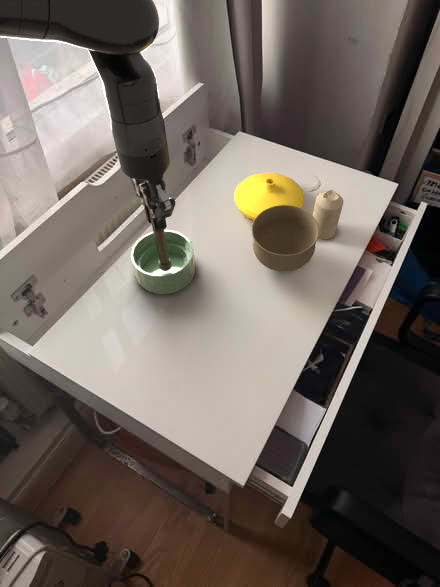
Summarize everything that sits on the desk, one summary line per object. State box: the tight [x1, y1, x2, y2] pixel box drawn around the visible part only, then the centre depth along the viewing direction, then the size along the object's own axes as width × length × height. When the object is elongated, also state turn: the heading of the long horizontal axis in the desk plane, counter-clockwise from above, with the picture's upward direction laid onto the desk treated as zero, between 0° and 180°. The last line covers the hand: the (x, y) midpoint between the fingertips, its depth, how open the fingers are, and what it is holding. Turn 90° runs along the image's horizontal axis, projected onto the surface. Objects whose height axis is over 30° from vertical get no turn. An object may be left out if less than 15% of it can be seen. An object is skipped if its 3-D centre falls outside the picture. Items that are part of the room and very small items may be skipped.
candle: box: [312, 189, 344, 240], centre depth 90 cm, size 6×6×10 cm
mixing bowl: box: [130, 229, 196, 295], centre depth 86 cm, size 12×12×6 cm
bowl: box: [251, 205, 319, 273], centre depth 85 cm, size 13×13×10 cm
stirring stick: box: [148, 206, 172, 271], centre depth 80 cm, size 2×2×16 cm
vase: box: [233, 171, 305, 221], centre depth 97 cm, size 16×16×7 cm
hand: (157, 224), depth 77 cm, fingers closed on stirring stick, 2 cm apart
